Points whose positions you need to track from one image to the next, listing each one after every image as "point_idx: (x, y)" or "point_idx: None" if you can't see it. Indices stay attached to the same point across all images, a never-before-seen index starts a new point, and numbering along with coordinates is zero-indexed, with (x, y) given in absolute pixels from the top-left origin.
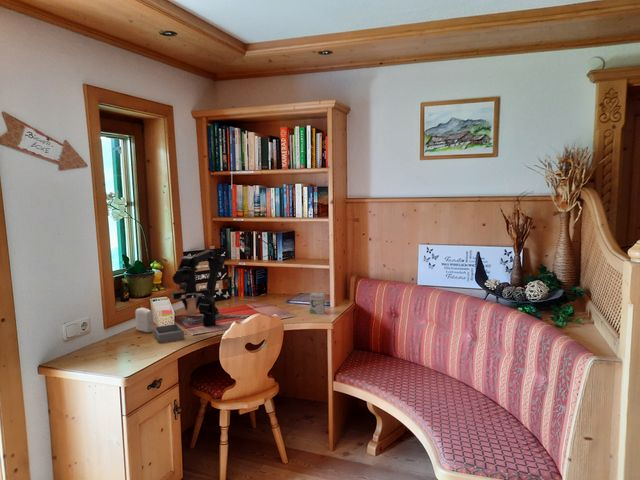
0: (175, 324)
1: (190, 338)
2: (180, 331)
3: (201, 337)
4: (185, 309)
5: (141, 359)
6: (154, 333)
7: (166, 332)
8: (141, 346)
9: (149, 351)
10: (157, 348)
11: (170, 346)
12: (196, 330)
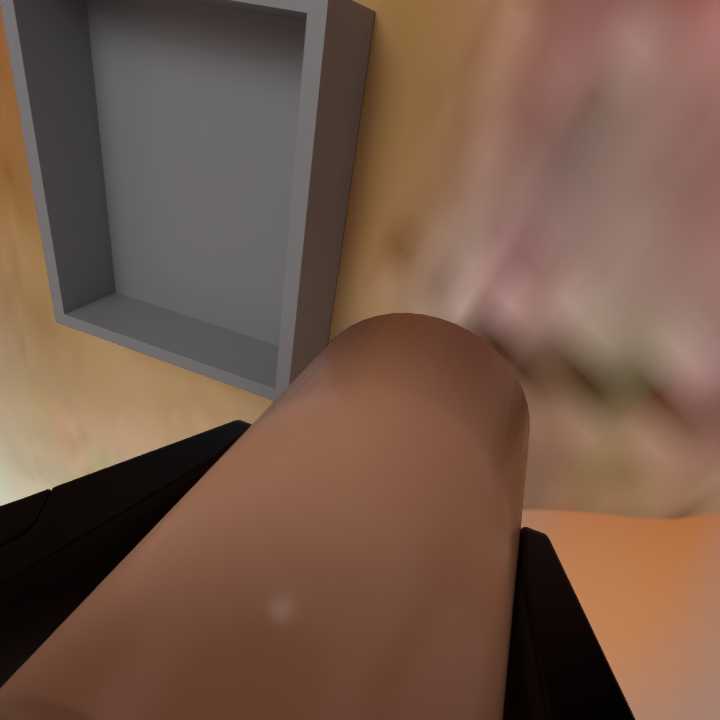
0: (294, 11)
1: None
2: (254, 391)
3: None
4: (224, 435)
5: (23, 470)
6: (65, 34)
7: (206, 51)
8: (3, 266)
9: (56, 402)
10: (102, 394)
11: (183, 432)
12: (594, 203)
